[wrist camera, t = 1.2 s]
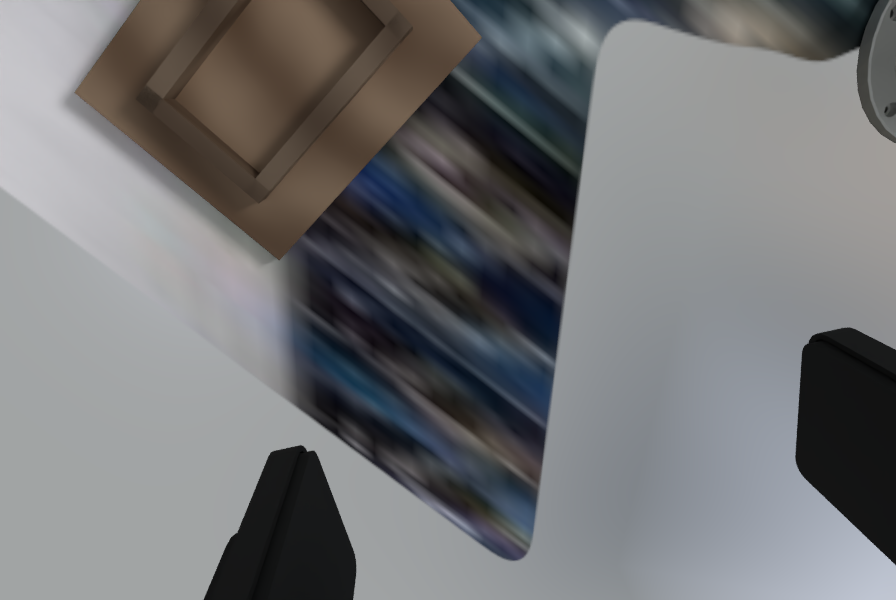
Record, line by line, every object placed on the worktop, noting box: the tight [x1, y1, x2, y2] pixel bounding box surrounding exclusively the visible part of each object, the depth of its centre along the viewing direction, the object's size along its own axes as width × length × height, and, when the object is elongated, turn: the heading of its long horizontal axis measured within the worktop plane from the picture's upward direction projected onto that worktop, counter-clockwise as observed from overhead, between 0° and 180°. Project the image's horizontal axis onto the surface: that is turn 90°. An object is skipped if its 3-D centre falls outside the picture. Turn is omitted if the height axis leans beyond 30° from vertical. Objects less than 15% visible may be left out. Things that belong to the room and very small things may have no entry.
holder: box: [75, 0, 482, 260], centre depth 28 cm, size 18×14×3 cm
